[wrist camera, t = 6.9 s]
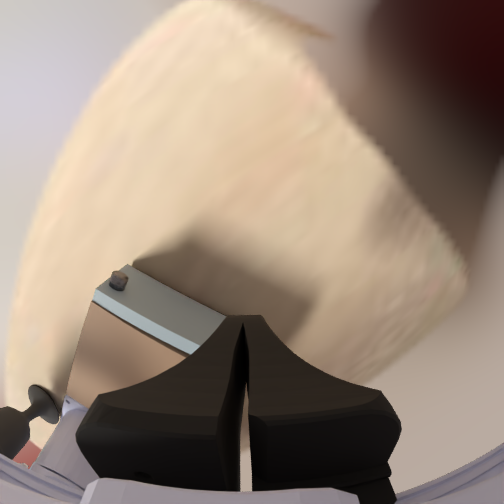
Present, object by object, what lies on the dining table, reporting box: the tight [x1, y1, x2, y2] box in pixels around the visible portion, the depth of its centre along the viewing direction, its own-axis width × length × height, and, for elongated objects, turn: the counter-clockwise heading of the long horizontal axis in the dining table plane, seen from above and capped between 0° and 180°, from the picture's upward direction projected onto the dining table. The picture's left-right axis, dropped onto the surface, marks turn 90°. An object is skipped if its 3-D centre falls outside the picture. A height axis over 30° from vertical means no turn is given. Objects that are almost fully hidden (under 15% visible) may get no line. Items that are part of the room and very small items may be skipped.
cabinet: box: [66, 301, 191, 409], centre depth 18 cm, size 9×9×5 cm
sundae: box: [0, 385, 59, 460], centre depth 14 cm, size 7×7×15 cm
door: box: [92, 264, 227, 354], centre depth 16 cm, size 2×9×5 cm, turn 61°
